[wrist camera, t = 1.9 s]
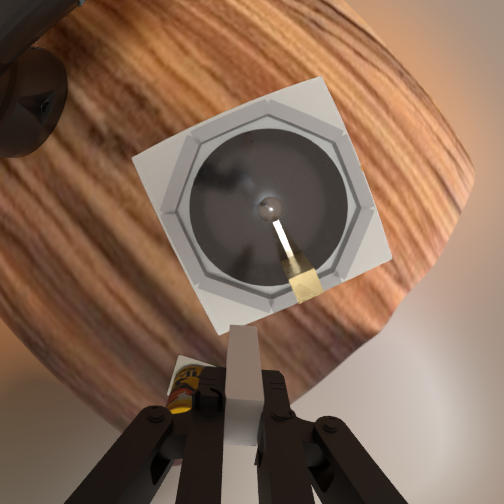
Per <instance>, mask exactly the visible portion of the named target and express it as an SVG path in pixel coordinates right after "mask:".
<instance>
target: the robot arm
mask: <svg viewBox="0 0 504 504" xmlns="http://www.w3.org/2000/svg"><path fill="white" fill-rule="evenodd" d="M84 2H85V0H0V157H7V158H16V157H22V156H25V155H27V154H29V153H31V152H32V151H34V150H35V149H37V148H38V147H39V146H40V145H41V144H42V143H43V142H44V141H45V140H46V139H47V137H48V136H49V135H50V133H51V132H52V130H53V129H54V127H55V125H56V123H57V121H58V119H59V117H60V115H61V112H62V110H63V106H64V103H65V98H66V92H67V77H66V72H65V68H64V66H63V64H62V62H61V61H60V59H59V58H58V57H57V56H56V55H54V54H52V53H51V52H49V51H47V50H45V49H43V48H39V47H30V46H31V45H32V44H34V43H35V42H36V41H37V40H38V39H39V38H40V37H41V36H42V35H44V34H45V33H46V32H47V31H48V30H49V29H50V28H52V27H53V26H54V25H55V24H56V23H58V22H59V21H60V20H61V19H63V18H64V17H65V16H66V15H68V14H69V13H70V12H71V11H73V10H74V9H75V8H77V7H78V6H79V7H80V6H82V5H83V4H84ZM223 444H231V445H247V446H256V444H258V448H257V453H256V459H255V463H254V465H257V476H258V477H257V478H258V494H259V504H315V501H314V496H313V492H312V487H313V488H314V490H315V492H316V494H317V495H318V497H319V499H320V501H321V503H322V504H408V503H407V502H406V500H405V499H404V498H403V497H402V495H401V494H400V493H399V492H398V490H397V489H396V488H395V487H394V485H393V484H392V483H391V482H390V480H389V479H388V478H387V477H386V475H385V474H384V473H383V472H382V470H381V469H380V468H379V466H378V465H377V464H376V463H375V462H374V460H373V459H372V458H371V456H370V455H369V454H368V452H367V451H366V450H365V449H364V447H363V446H362V445H361V444H360V442H359V441H358V439H357V438H356V437H355V436H354V434H353V433H352V432H351V430H350V429H349V428H348V426H347V425H346V424H345V423H344V422H343V421H342V420H341V419H339V418H337V417H333V416H323V417H320V418H318V419H317V420H316V422H310V421H306V420H302V419H300V418H298V417H296V414H295V412H294V411H293V410H291V408H290V403H289V399H288V394H287V390H286V385H285V379H284V376H283V375H282V374H281V373H280V372H279V371H275V370H261V363H260V353H259V344H258V334H257V327H256V326H243V325H232V324H230V329H229V340H228V351H227V363H226V368H223V367H213V366H205V367H204V368H203V369H202V370H201V373H200V378H199V383H198V388H196V389H195V390H194V391H193V393H192V408H191V409H190V410H188V411H186V412H182V413H175V414H172V412H171V411H170V410H169V409H167V408H165V407H163V406H157V405H155V406H148V407H145V408H144V409H143V410H141V411H140V413H139V414H138V415H137V416H136V418H135V419H134V420H133V421H132V422H131V424H130V425H129V426H128V427H127V428H126V430H125V431H124V432H123V433H122V435H121V436H120V437H119V438H118V439H117V441H116V442H115V443H114V444H113V446H112V447H111V448H110V449H109V450H108V451H107V453H106V454H105V455H104V456H103V457H102V459H101V460H100V461H99V462H98V463H97V465H96V466H95V467H94V468H93V470H92V471H91V472H90V473H89V474H88V476H87V477H86V478H85V479H84V480H83V481H82V483H81V484H80V485H79V486H78V487H77V489H76V490H75V491H74V492H73V493H72V495H71V496H70V497H69V498H68V499H67V500H66V502H65V503H64V504H150V502H151V501H152V499H153V497H154V496H155V494H156V492H157V491H158V489H159V487H160V486H161V484H162V482H163V480H164V479H165V477H166V475H167V473H168V472H169V470H170V468H171V467H172V465H173V463H174V461H175V459H182V458H183V460H182V466H181V472H180V478H179V484H178V490H177V496H176V502H175V504H221V485H222V463H223ZM311 485H312V487H311Z"/></svg>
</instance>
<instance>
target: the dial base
mask: <svg viewBox="0 0 504 504" xmlns="http://www.w3.org/2000/svg"><path fill="white" fill-rule="evenodd" d="M266 128H271V129H282V130H287V131H291V132H294V133H297V134H300V135H302V136H304V137H306V138H308V139H309V140H311V141H312V142H314V143H315V144H317V145H318V146H319V147H320V148H322V149H323V150H324V151H325V152H326V153H327V154H328V156H329V157H330V158H331V159H332V160H333V162H334V163H335V165H336V166H337V168H338V170H339V172H340V174H341V176H342V178H343V181H344V184H345V188H346V193H347V199H348V214H347V221H346V226H345V230H344V233H343V236H342V238H341V240H340V242H339V244H338V246H337V248H336V249H335V251H334V252H333V254H332V255H331V256H330V258H329V259H328V260H327V261H326V262H325V263H324V264H323V265H322V266H321V267H320V268H318V269H317V270H316V273H317V276H318V278H319V281H320V284H321V286H322V289H323V291H325V290H328V289H330V288H332V287H334V286H336V285H339V284H341V283H343V282H345V281H347V280H349V279H351V278H354V277H356V276H358V275H360V274H362V273H364V272H366V271H368V270H370V269H372V268H375V267H377V266H379V265H381V264H383V263H385V262H387V261H389V260H391V259H392V255H391V252H390V248H389V245H388V242H387V239H386V235H385V232H384V229H383V226H382V223H381V220H380V217H379V214H378V211H377V208H376V205H375V202H374V199H373V196H372V193H371V191H370V188H369V185H368V182H367V180H366V177H365V174H364V172H363V171H364V170H363V168H362V166H361V164H360V162H359V159H358V156H357V154H356V152H355V149H354V147H353V144H352V142H351V139H350V137H349V135H348V132H347V130H346V128H345V125H344V123H343V121H342V119H341V116H340V114H339V112H338V110H337V108H336V105H335V103H334V101H333V99H332V97H331V95H330V93H329V91H328V89H327V87H326V84H325V82H324V80H323V78H322V76H319V77H316V78H313V79H310V80H307V81H304V82H301V83H298V84H295V85H292V86H289V87H286V88H284V89H281V90H278V91H275V92H273V93H270V94H267V95H265V96H262V97H260V98H257V99H254V100H252V101H249V102H247V103H244V104H242V105H240V106H237V107H235V108H232V109H230V110H228V111H225V112H223V113H221V114H219V115H216V116H214V117H212V118H210V119H207V120H205V121H203V122H201V123H199V124H197V125H194V126H192V127H190V128H188V129H186V130H184V131H182V132H180V133H178V134H176V135H174V136H172V137H170V138H168V139H166V140H164V141H162V142H160V143H158V144H156V145H154V146H152V147H150V148H149V149H147V150H145V151H143V152H141V153H139V154H138V155H136V156H134V157H132V158H131V159H132V161H133V163H134V165H135V168H136V170H137V172H138V175H139V177H140V179H141V181H142V184H143V186H144V188H145V190H146V192H147V195H148V197H149V199H150V201H151V203H152V206H153V208H154V210H155V212H156V214H157V216H158V218H159V220H160V223H161V225H162V227H163V229H164V231H165V233H166V235H167V237H168V239H169V241H170V243H171V245H172V247H173V249H174V251H175V253H176V255H177V257H178V259H179V261H180V263H181V265H182V267H183V269H184V271H185V273H186V275H187V277H188V279H189V281H190V283H191V285H192V287H193V289H194V291H195V293H196V295H197V297H198V298H199V300H200V302H201V304H202V306H203V308H204V310H205V312H206V313H207V315H208V317H209V319H210V321H211V323H212V324H213V326H214V328H215V330H216V332H217V334H218V335H221V334H223V333H226V332H229V329H230V324H232V325H243V326H244V325H246V324H248V323H251V322H253V321H256V320H258V319H261V318H263V317H266V316H268V315H270V314H273V313H275V312H277V311H280V310H282V309H284V308H287V307H289V306H291V305H294V304H296V303H298V301H297V299H296V297H295V294H294V292H293V290H292V288H291V285H290V283H289V284H285V285H279V286H258V285H251V284H248V283H244V282H241V281H239V280H236V279H234V278H232V277H230V276H228V275H227V274H225V273H223V272H222V271H221V270H220V269H218V268H217V267H216V266H215V265H214V264H213V263H212V262H211V261H210V260H209V259H208V258H207V257H206V255H205V254H204V253H203V251H202V250H201V248H200V246H199V244H198V243H197V241H196V238H195V236H194V233H193V230H192V226H191V222H190V214H189V201H190V194H191V189H192V186H193V182H194V179H195V177H196V175H197V173H198V171H199V169H200V167H201V166H202V164H203V162H204V161H205V160H206V159H207V157H208V156H209V155H210V154H211V153H212V152H213V151H214V150H215V149H216V148H217V147H218V146H220V145H221V144H222V143H224V142H225V141H227V140H228V139H230V138H232V137H234V136H236V135H238V134H241V133H244V132H247V131H251V130H256V129H266Z"/></svg>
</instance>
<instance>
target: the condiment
mask: <svg viewBox="0 0 504 504" xmlns="http://www.w3.org/2000/svg"><path fill="white" fill-rule="evenodd" d="M205 366H213V365H210V364H207V363H204V362H201V361H198V360H195V359H192V358H188V357H185V356H182V355H179V356H178V359H177V363H176V366H175V369H174V372H173V376H172V379H171V383H170V386H169V389H168V393H167V395H169V398H168V402H167V405H166V408H167V409H169V410H170V411H171V412H172V414H175V413H182V412H186V411H188V410H190V409H191V408H192V393H193V391H194V390H195V389H196V388H198V383H199V378H200V373H201V370H202V369H203V368H204V367H205ZM213 367H216V366H213Z"/></svg>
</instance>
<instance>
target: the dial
mask: <svg viewBox="0 0 504 504" xmlns="http://www.w3.org/2000/svg"><path fill="white" fill-rule="evenodd" d="M189 214H190V222H191V226H192V230H193V233H194V236H195V238H196V241H197V243H198V244H199V246H200V248H201V250H202V251H203V253H204V254H205V255H206V257H207V258H208V259H209V260H210V261H211V262H212V263H213V264H214V265H215V266H216V267H217V268H218V269H220V270H221V271H222V272H223V273H225V274H227V275H228V276H230V277H232V278H234V279H236V280H239V281H241V282H244V283H248V284H251V285H258V286H279V285H285V284H289V283H290V285H291V288H292V290H293V292H294V294H295V297H296V299H297V301H298V303H301V302H303V301H306V300H308V299H310V298H313V297H315V296H317V295H319V294H321V293H324V291H323V289H322V286H321V284H320V281H319V278H318V276H317V273H316V270H317V269H318V268H320V267H321V266H322V265H323V264H324V263H325V262H326V261H327V260H328V259H329V258H330V256H331V255H332V254H333V252H334V251H335V249H336V248H337V246H338V244H339V242H340V240H341V238H342V236H343V233H344V230H345V226H346V221H347V214H348V199H347V193H346V188H345V184H344V181H343V178H342V176H341V174H340V172H339V170H338V168H337V166H336V165H335V163H334V162H333V160H332V159H331V158H330V157H329V156H328V154H327V153H326V152H325V151H324V150H323V149H322V148H320V147H319V146H318V145H317V144H315V143H314V142H312V141H311V140H309V139H308V138H306V137H304V136H302V135H300V134H297V133H294V132H291V131H287V130H282V129H271V128H266V129H256V130H251V131H247V132H244V133H241V134H238V135H236V136H234V137H232V138H230V139H228V140H227V141H225V142H224V143H222V144H221V145H220V146H218V147H217V148H216V149H215V150H214V151H213V152H212V153H211V154H210V155H209V156H208V157H207V159H206V160H205V161H204V162H203V164H202V166H201V167H200V169H199V171H198V173H197V175H196V177H195V179H194V182H193V186H192V189H191V194H190V201H189Z"/></svg>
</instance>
